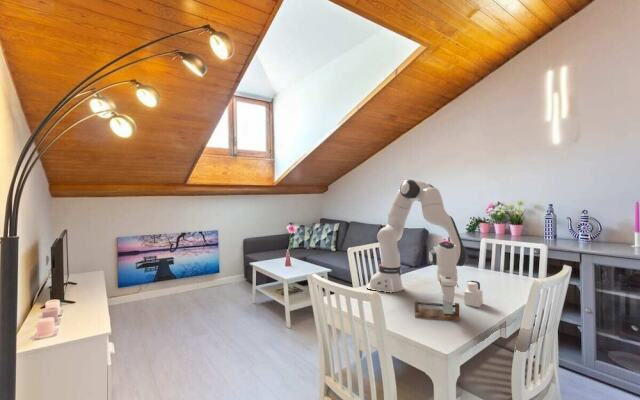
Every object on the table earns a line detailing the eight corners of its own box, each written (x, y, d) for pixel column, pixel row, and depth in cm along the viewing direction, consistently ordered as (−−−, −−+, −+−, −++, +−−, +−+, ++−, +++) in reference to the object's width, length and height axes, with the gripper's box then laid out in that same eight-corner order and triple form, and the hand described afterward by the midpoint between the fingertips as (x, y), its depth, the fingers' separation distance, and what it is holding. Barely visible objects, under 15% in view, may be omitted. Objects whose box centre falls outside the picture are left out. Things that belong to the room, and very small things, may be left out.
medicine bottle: (468, 300, 168) (467, 278, 167) (482, 303, 163) (482, 281, 163) (464, 304, 162) (464, 282, 162) (479, 307, 158) (479, 284, 157)
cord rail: (414, 317, 149) (414, 303, 149) (415, 310, 157) (415, 298, 157) (460, 321, 143) (459, 307, 143) (458, 314, 150) (458, 301, 150)
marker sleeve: (443, 313, 146) (443, 298, 146) (442, 309, 151) (442, 295, 151) (452, 314, 145) (452, 299, 145) (451, 310, 150) (451, 295, 150)
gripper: (439, 270, 158) (439, 297, 159) (441, 282, 139) (441, 313, 140) (452, 271, 156) (452, 298, 157) (456, 283, 137) (456, 314, 137)
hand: (447, 305), depth 148 cm, fingers closed on marker sleeve, 5 cm apart
